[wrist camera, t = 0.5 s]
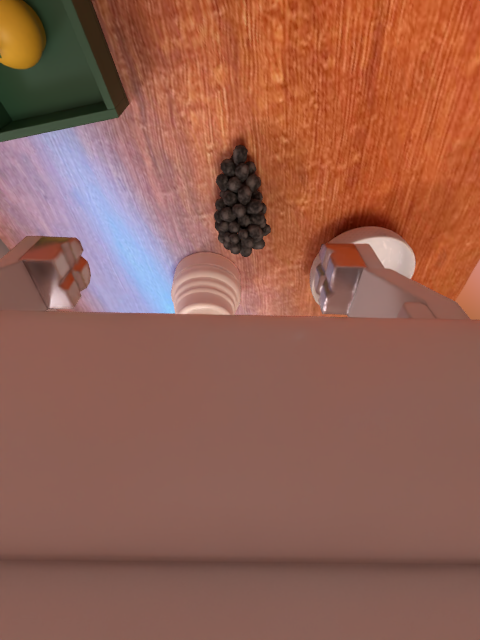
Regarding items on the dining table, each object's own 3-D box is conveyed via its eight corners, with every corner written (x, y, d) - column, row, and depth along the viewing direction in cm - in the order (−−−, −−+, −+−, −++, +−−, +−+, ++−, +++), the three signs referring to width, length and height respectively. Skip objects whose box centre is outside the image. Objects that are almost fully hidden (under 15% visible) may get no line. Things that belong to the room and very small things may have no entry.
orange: (-23, -17, 30) (-69, -15, 25) (40, -9, 30) (5, -5, 26) (6, 59, 34) (-30, 73, 30) (60, 66, 35) (33, 80, 30)
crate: (-119, -81, 27) (-171, -88, 24) (41, -132, 26) (11, -148, 22) (15, 128, 40) (-6, 143, 36) (129, 103, 38) (118, 117, 35)
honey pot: (246, 256, 56) (249, 334, 44) (235, 305, 65) (235, 379, 54) (174, 247, 54) (158, 325, 42) (174, 298, 64) (160, 373, 52)
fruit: (222, 164, 35) (225, 269, 46) (288, 156, 37) (276, 259, 48) (203, 140, 40) (210, 239, 51) (261, 134, 42) (255, 231, 53)
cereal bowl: (353, 298, 64) (363, 324, 60) (287, 271, 59) (292, 297, 54) (422, 236, 53) (440, 262, 48) (348, 195, 47) (360, 220, 43)
